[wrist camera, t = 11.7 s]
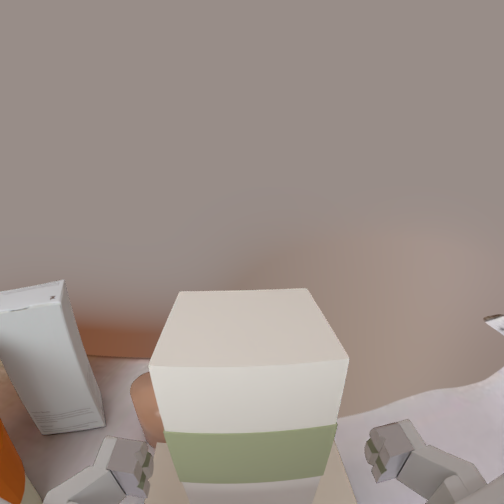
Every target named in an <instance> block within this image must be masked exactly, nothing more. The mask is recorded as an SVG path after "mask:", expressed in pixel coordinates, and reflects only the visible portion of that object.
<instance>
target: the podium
mask: <svg viewBox="0 0 504 504" xmlns="http://www.w3.org/2000/svg"><path fill="white" fill-rule="evenodd" d="M153 462H154V470H153V475H152V477H151V478H149V483H150V490H149V494H148V498H145V501H144V504H190V502H189V499H188V497H187V494H186V491H185V489H184V486H183V484H182V482H180V480H179V478H178V475H177V472H176V469H175V467H174V464H173V461H172V458H171V455H170V452H169V449H168V446H167V443H158V442H157V444H156V449H155V453H154V458H153ZM312 504H357V501H356V498H355V496H354V493H353V490H352V487H351V485H350V482H349V479H348V476H347V474H346V471H345V468H344V465H343V463H342V460H341V457H340V454H339V452H338V449H337V446H336V444H335V441H333V444H332V448H331V451H330V455H329V458H328V462H327V465H326V468H325V471H324V474H323V476H321V478H320V481H319V484H318V488H317V491H316V494H315V497H314V499H313V502H312Z"/></svg>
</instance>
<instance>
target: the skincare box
mask: <svg viewBox="0 0 504 504" xmlns="http://www.w3.org/2000/svg"><path fill="white" fill-rule="evenodd" d="M0 359H1V361H2V363H3V365H4V368H5V370H6V372H7V374H8V376H9V378H10V380H11V382H12V384H13V386H14V388H15V390H16V392H17V393H18V395H19V397H20V399H21V401H22V403H23V404H24V406H25V408H26V410H27V411H28V413H29V415H30V416H31V418H32V419H33V421H34V423H35V424H36V426H37V427H38V429H39V431H40V432H41V434H42V435H48V434H56V433H65V432H72V431H79V430H86V429H92V428H98V427H104V426H106V423H105V417H104V411H103V404H102V398H101V392H100V390H99V387H98V385H97V382H96V380H95V377H94V374H93V372H92V369H91V366H90V364H89V361H88V358H87V355H86V353H85V350H84V347H83V344H82V341H81V338H80V334H79V331H78V328H77V324H76V321H75V317H74V314H73V310H72V307H71V303H70V299H69V295H68V292H67V288H66V284H65V280H60V281H55V282H50V283H45V284H40V285H35V286H30V287H25V288H19V289H14V290H8V291H1V292H0Z"/></svg>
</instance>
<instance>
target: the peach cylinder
mask: <svg viewBox="0 0 504 504" xmlns="http://www.w3.org/2000/svg"><path fill="white" fill-rule="evenodd" d="M130 395H131V398H132V401H133V404H134V407H135V410H136V413H137V416H138V419H139V422H140V425H141V428H142V430H143V433H144V436H145V438H146V440H147V442H148V443H149V444H150V445H151V446H152V447H153V448H155V449H156V444H157V442H158V443H166V440H165V437H164V433H163V431H164V426H163V422H162V419H161V415H160V412H159V408H158V404H157V401H156V397H155V393H154V389H153V385H152V380H151V376H150V372H147V373H145V374H143V375H141V376H139V377H138V378H137V379H136V380H135V381H134V382H133V383H132V385H131V388H130Z"/></svg>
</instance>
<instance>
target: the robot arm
mask: <svg viewBox="0 0 504 504" xmlns="http://www.w3.org/2000/svg"><path fill="white" fill-rule="evenodd" d="M369 435H370V437H371V438H370V439H369V440H368V441H367V442H366V445H365V457H366V460H367V462H368V463H369V464H371V465H372V466H373V468H372V471H371V472H372V474H373V476H374V478H375V481H376V483H380V482H383V481H387V480H391V479H394V478H396V479H397V480H399V481H400V482H401V483H403V484H404V485H406V486H407V487H409V488H410V489H412V490H413V491H415V492H416V493H418V494H419V495H421V496H422V497H424V498H425V499H427V500H428V501H427V502H426V503H425V504H504V474H502V475H501V476H499V477H498V478H496V479H495V480H493V481H492V482H490V483H489V484H487V483H486V482H485V480H484V479H483V477H482V476H481V474H480V473H479V471H478V470H477V468H476V467H475V465H474V464H472V463H470V462H467V461H465V460H463V459H460V458H458V457H456V456H453V455H451V454H449V453H446V452H444V451H442V450H440V449H438V448H435V447H433V446H431V445H428V446H426V444H425V443H424V441H423V440H422V438H421V436H420V435H419V433H418V432H417V430H416V429H415V427H414V426H413V424H412V423H411V421H410V420H408V419H406V420H403V421H399V422H396V423H395V422H394V423H391V424H387V425H383V426H379V427H376V428H373V429H372V430H371V431H370V434H369ZM147 451H148V445H147V443H146V442H143V441H136V440H130V439H124V438H118V437H112V436H106V437H105V438H104V440H103V442H102V445H101V447H100V450H99V452H98V455H97V457H96V460H95V462H94V465H93V466H88V467H87V468H85V469H84V470H82V471H81V472H79V473H78V474H76V475H74V476H73V477H71V478H70V479H68V480H66V481H65V482H63V483H62V484H60V485H58V486H57V487H55V488H53V489H52V490H50V491H48V492H47V494H46V497H45V499H44V501H43V503H42V504H119V503H120V502H121V501H122V500H123V499H124V498H125V497H126V495H128V496H134V497H141V498H148V494H149V490H150V483H149V481H148V479H149V478H151V477H152V475H153V470H154V462H153V458H152V455H151V454H150V453H149V452H147ZM0 504H11V503H10V502H8V501H6V500H4V499H2V498H0Z"/></svg>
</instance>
